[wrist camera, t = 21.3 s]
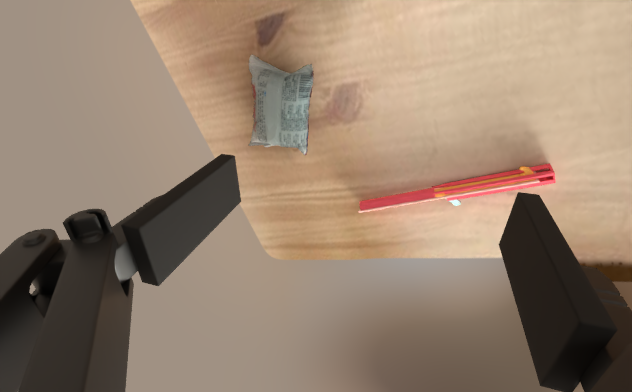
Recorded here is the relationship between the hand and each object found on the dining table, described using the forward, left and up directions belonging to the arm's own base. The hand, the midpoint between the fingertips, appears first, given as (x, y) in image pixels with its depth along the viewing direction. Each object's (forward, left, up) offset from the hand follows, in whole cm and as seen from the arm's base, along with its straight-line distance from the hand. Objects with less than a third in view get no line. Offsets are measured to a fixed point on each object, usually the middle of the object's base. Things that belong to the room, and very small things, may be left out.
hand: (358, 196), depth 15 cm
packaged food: (+15, +4, -28) cm, 32 cm away
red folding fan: (-8, +14, -28) cm, 32 cm away
